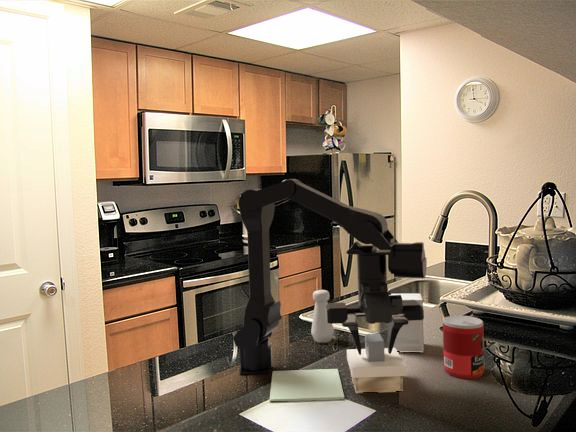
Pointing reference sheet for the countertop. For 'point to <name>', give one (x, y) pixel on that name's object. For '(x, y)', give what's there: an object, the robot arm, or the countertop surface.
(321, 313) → the salt shaker
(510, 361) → the countertop surface
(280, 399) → the mat
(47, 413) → the countertop surface
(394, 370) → the lid
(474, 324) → the canned food
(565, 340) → the countertop surface
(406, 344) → the supplement box
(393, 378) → the box
